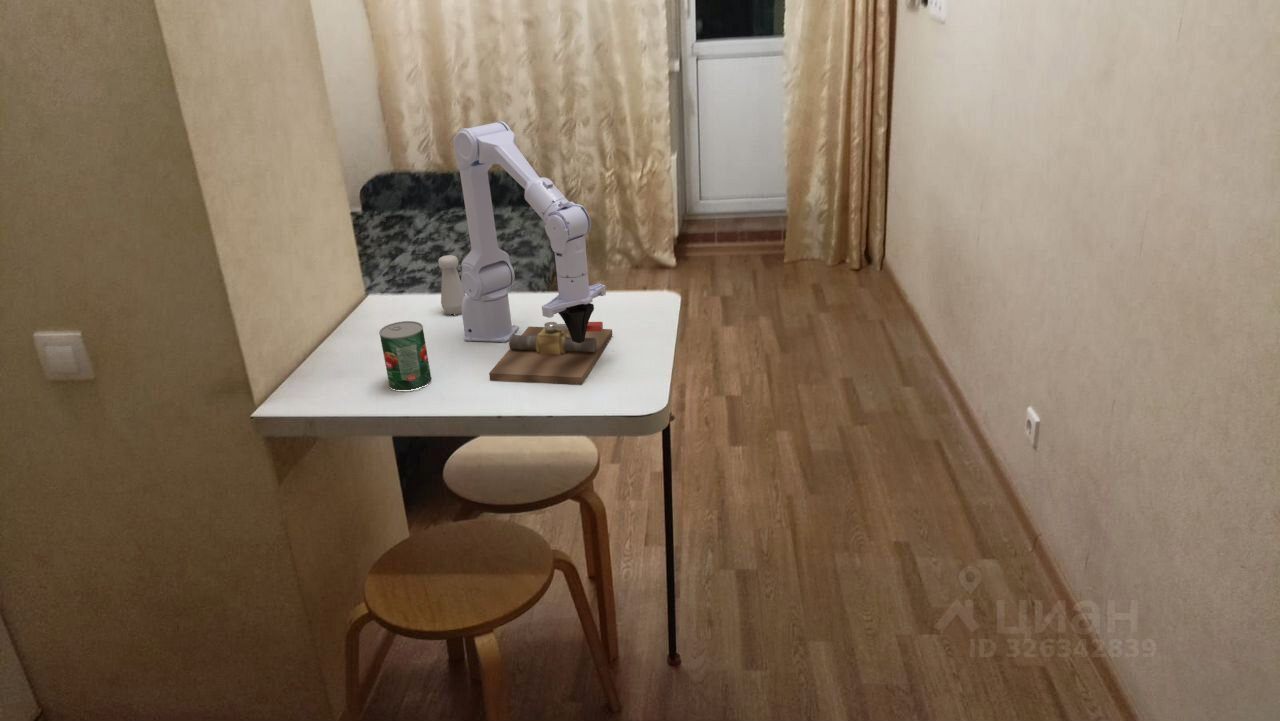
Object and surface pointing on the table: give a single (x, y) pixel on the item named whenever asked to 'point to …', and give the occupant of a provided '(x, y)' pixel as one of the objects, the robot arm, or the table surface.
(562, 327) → the valve lever
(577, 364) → the valve board
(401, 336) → the canned tomato
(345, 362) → the table surface
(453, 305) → the salt shaker
